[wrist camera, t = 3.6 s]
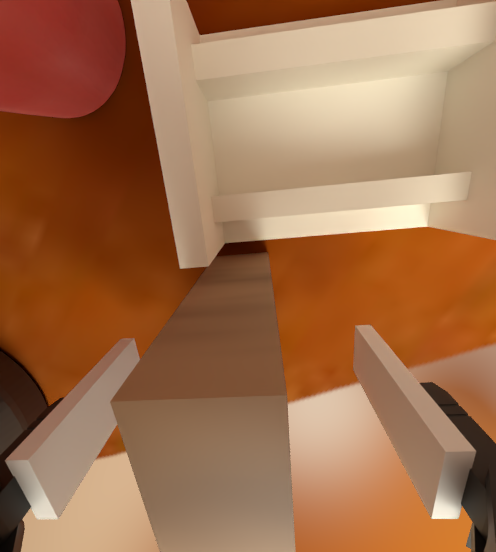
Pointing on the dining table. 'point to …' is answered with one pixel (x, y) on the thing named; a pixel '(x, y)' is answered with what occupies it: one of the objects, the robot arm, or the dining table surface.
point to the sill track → (323, 123)
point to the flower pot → (59, 55)
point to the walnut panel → (214, 418)
